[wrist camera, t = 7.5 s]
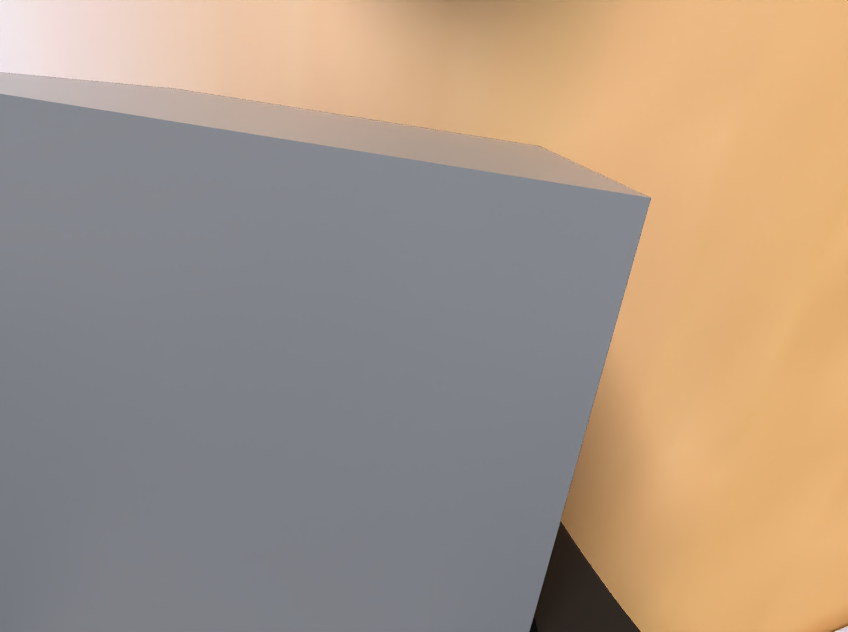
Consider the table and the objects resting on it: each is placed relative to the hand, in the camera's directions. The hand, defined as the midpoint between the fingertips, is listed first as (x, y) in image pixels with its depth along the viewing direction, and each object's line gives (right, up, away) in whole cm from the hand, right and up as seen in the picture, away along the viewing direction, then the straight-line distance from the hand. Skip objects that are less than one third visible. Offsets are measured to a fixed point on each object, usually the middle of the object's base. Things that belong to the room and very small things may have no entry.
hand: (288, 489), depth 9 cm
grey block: (0, +1, +2) cm, 2 cm away
